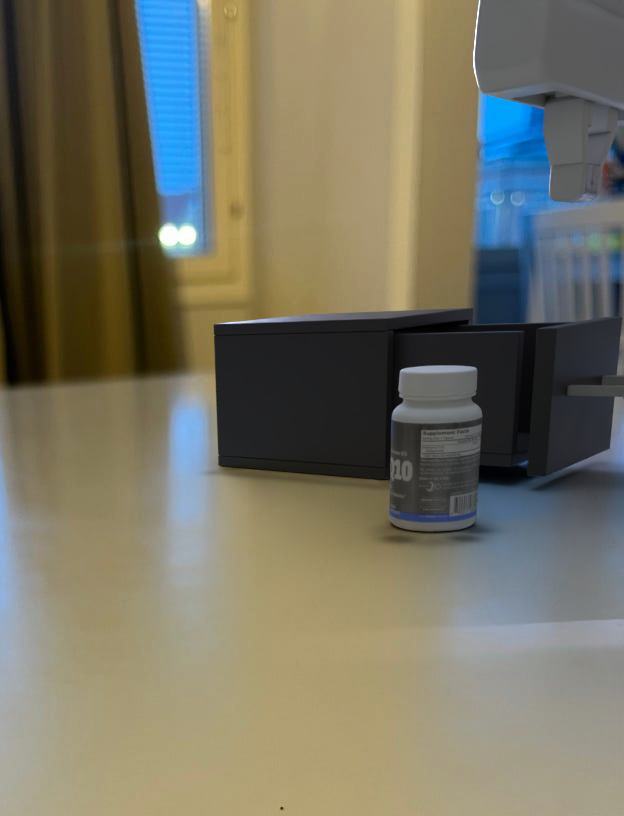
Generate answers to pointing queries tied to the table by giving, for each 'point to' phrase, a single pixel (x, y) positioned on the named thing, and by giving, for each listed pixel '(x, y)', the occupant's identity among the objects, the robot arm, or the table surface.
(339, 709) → the table surface
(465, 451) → the pill bottle
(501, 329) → the drawer
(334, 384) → the cabinet
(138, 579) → the table surface
